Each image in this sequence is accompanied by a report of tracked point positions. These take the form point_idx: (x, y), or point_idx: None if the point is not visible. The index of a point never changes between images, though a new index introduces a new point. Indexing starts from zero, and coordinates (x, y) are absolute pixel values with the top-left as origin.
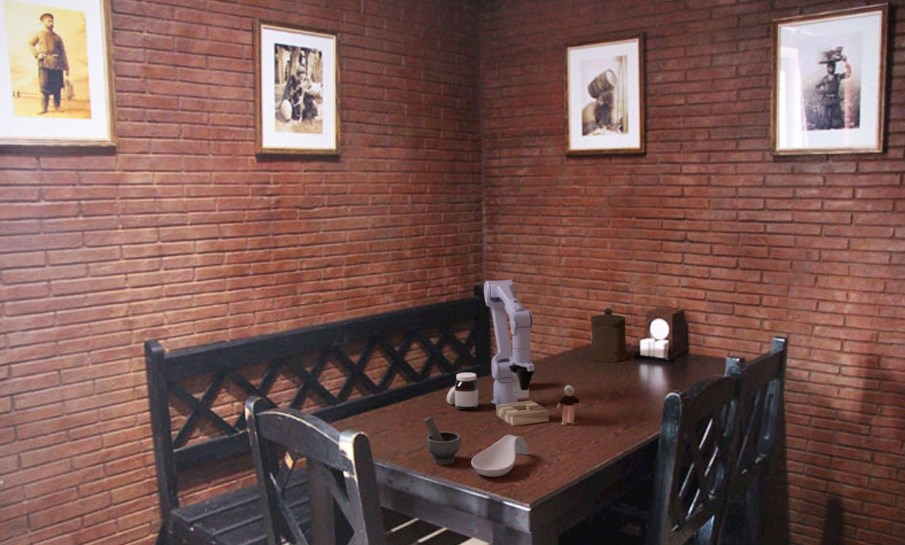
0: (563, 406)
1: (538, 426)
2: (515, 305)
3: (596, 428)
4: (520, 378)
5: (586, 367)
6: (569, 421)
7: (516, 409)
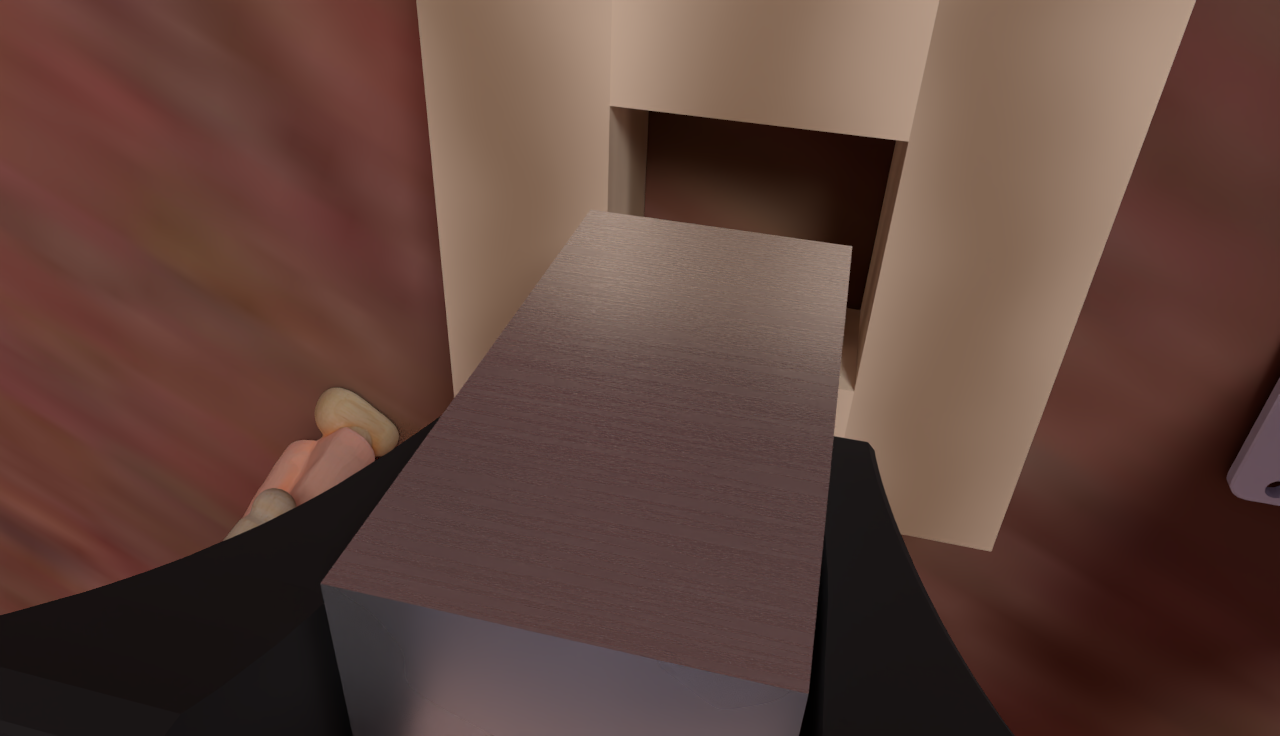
0: None
1: (358, 162)
2: None
3: (181, 526)
4: (324, 535)
5: None
6: (283, 453)
7: (887, 214)
